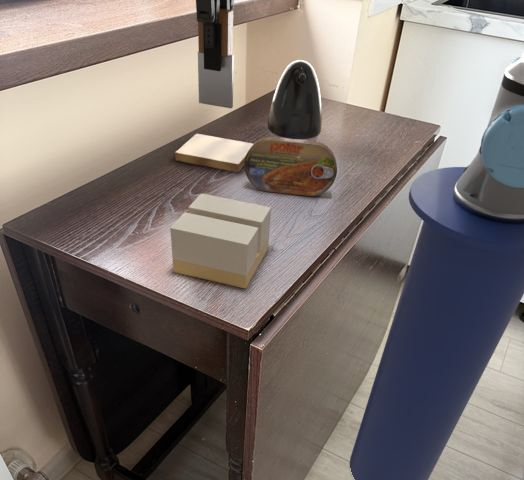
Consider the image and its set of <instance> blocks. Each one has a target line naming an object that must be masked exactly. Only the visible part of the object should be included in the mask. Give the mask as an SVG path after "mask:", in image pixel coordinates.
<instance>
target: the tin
mask: <svg viewBox="0 0 524 480" xmlns="http://www.w3.org/2000/svg"><path fill="white" fill-rule="evenodd" d="M252 144H253V145H252V147H251V148H250V149H249V151H248V152H247V154H246V157H245V161H244V166H243V168H244V173H245V175H246V178H247V180H248V181H249V182H250V184H251V185H252V186H254V187H255V188H256V189H258V190H260V191H263V192H265V193H266V192H268V193H277V194H285V195H295V196H305V197H318V196H319V195H322V194H324V193H326V192H327V191H328V190H330V189H331V187H332V186H333V184H334V183H335V181H336V178H337V174H338V166H337V165H338V164H337V159H336V157H335V154H334V151H332V149H331V148H330V147H329V146H328V145H326V144H325V143H323V142H320V141H318V140H316V141H308V140H298V139H288V138H278V137H271V136H265V137H263V138H260V139H258V140H257V141H255V142H254V143H252Z"/></svg>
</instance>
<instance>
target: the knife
mask: <svg viewBox="0 0 524 480" xmlns="http://www.w3.org/2000/svg"><path fill="white" fill-rule="evenodd" d="M233 14H234V9H233V10H228V9H221V8H219V24H221V71H214V70H208V69H204V40H203V23H202V22H197V36H198V37H197V38H198V39H197V40H198V42H197V43H198V51H197V74H198V75H197V79H198V81H197V82H198V104H201V105H202V104H203V105H209V106H214V107H219V108H226V109H233V107H234V69H235V68H234V66H235V65H234V63H235V62H234V61H235V55H234V54H233V53H234V52H233V51H234V50H233V49H234V47H233V46H234V19H233Z"/></svg>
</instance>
